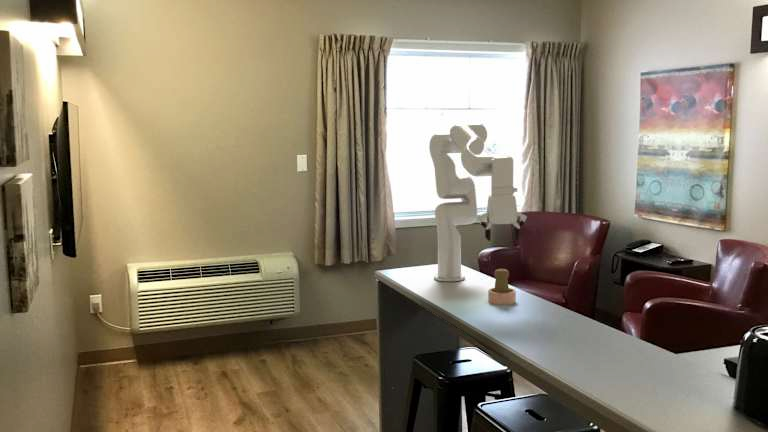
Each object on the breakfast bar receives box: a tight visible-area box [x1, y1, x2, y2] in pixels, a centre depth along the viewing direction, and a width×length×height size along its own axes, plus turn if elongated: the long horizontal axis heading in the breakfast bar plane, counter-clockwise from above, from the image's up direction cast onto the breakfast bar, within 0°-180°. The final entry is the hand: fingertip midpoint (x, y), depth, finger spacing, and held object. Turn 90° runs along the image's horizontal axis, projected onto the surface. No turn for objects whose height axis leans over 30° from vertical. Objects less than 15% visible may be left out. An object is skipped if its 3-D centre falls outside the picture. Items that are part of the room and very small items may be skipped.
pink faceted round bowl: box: [487, 287, 517, 306], centre depth 245 cm, size 9×9×4 cm
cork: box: [493, 268, 510, 293], centre depth 245 cm, size 6×6×11 cm
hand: (502, 239), depth 243 cm, fingers open, 9 cm apart
